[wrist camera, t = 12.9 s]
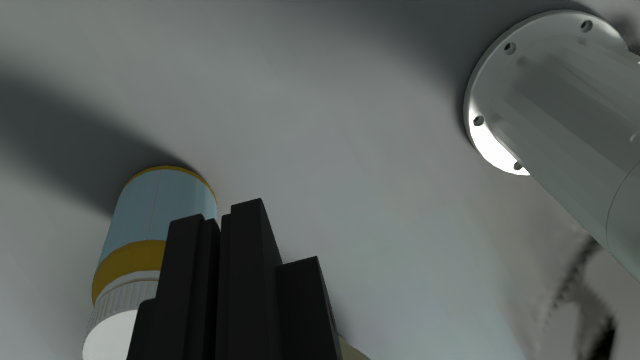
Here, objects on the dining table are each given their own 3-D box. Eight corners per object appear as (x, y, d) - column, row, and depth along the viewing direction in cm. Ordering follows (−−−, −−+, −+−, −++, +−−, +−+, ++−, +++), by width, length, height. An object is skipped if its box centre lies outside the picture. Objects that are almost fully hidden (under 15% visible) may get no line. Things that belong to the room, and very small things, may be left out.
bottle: (107, 170, 40) (52, 317, 27) (206, 154, 40) (199, 290, 27) (134, 249, 43) (96, 412, 30) (225, 233, 44) (226, 387, 31)
